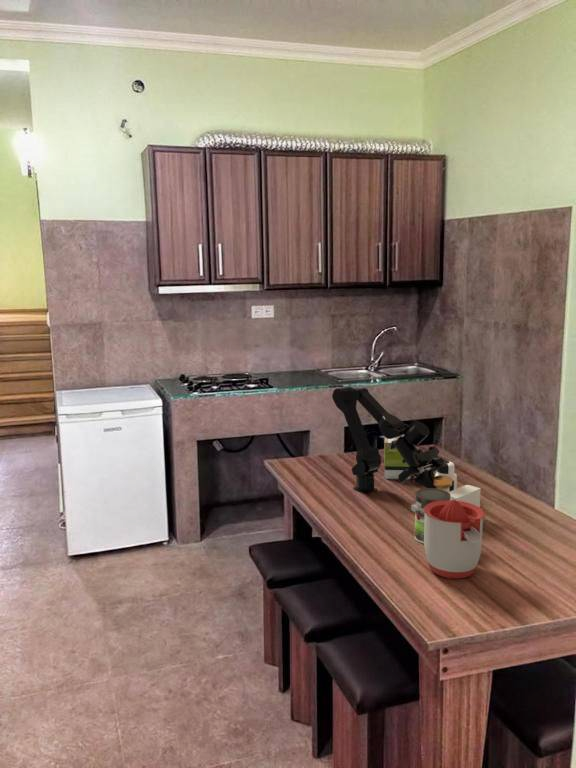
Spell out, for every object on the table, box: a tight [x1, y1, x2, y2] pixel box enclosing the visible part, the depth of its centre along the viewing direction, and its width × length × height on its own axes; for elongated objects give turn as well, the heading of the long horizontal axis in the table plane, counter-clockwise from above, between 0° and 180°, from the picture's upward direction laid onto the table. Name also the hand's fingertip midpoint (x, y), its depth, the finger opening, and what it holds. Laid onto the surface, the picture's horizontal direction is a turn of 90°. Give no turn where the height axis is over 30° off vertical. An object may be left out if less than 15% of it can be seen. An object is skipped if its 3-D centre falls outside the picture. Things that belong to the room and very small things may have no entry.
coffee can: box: [413, 487, 451, 545], centre depth 201 cm, size 10×10×14 cm
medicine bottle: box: [434, 460, 458, 492], centre depth 237 cm, size 7×7×12 cm
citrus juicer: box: [423, 500, 485, 580], centre depth 179 cm, size 16×17×20 cm
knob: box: [433, 475, 452, 492], centre depth 219 cm, size 6×6×10 cm
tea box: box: [383, 434, 411, 480], centre depth 262 cm, size 15×10×15 cm, turn 172°
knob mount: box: [410, 484, 481, 513], centre depth 219 cm, size 19×13×10 cm
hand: (436, 491), depth 221 cm, fingers closed, pressing on knob
